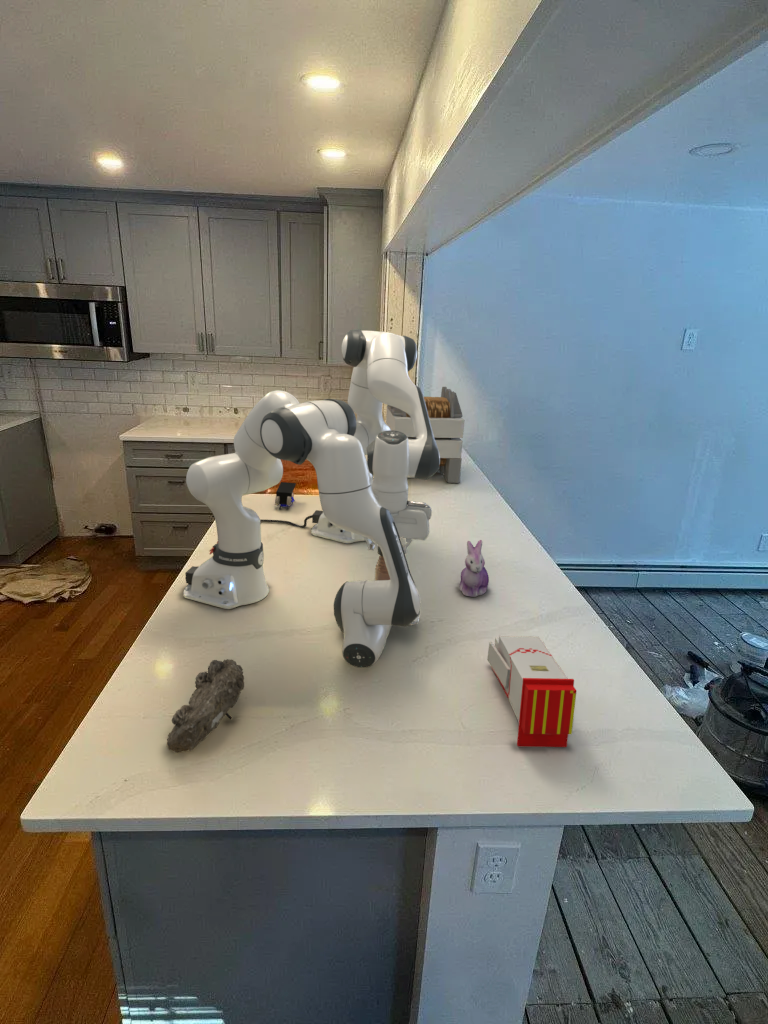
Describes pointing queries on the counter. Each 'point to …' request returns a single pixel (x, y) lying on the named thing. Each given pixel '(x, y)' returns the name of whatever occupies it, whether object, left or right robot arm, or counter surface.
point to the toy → (534, 690)
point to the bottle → (381, 570)
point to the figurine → (474, 572)
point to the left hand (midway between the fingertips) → (385, 592)
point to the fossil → (206, 705)
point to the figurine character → (285, 494)
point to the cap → (379, 551)
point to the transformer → (437, 430)
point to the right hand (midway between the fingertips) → (387, 551)
